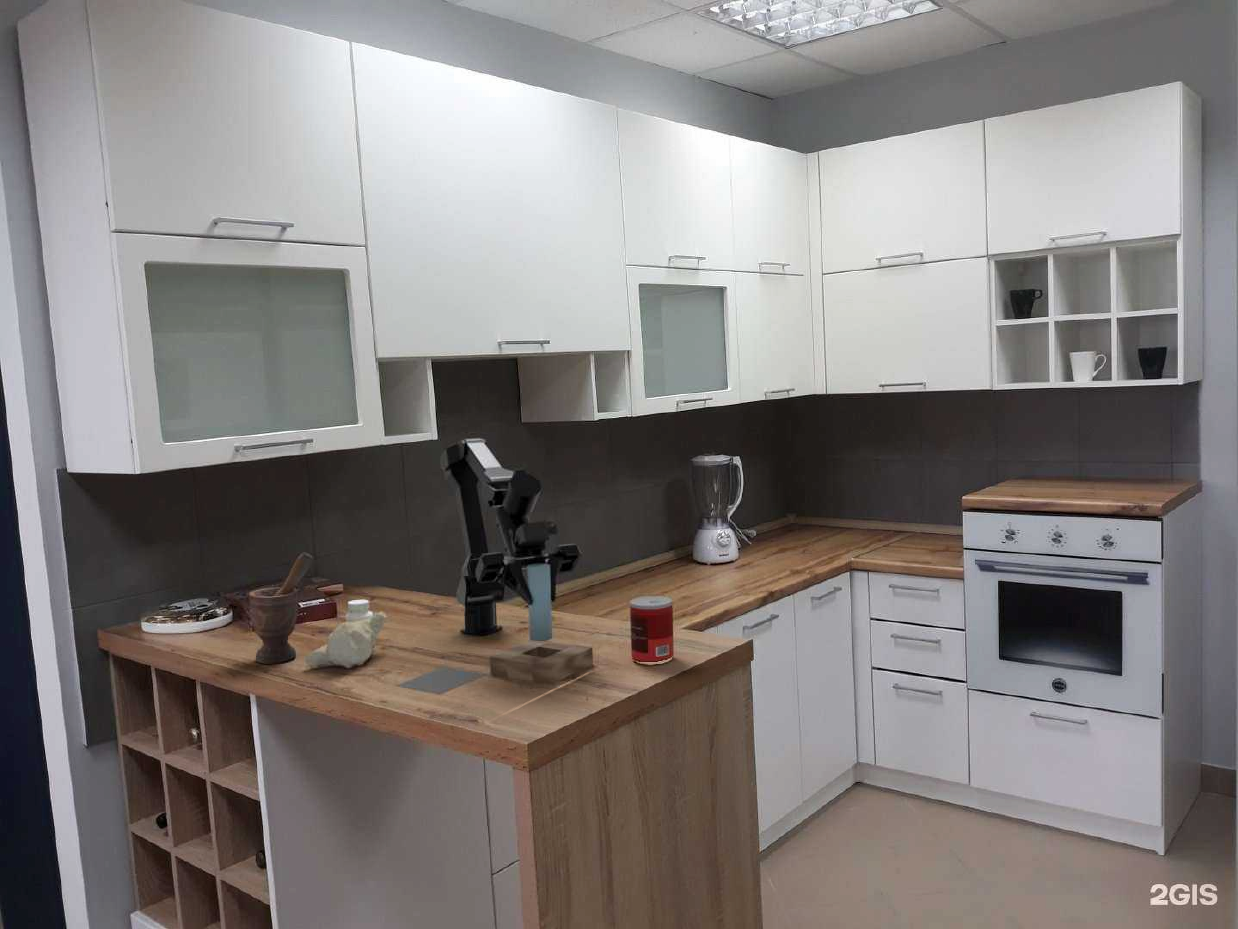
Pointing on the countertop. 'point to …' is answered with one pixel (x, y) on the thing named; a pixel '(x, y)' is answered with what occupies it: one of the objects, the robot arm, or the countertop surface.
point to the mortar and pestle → (277, 615)
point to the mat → (441, 680)
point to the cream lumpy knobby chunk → (348, 643)
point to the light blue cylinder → (540, 602)
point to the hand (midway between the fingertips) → (542, 602)
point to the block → (541, 661)
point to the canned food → (651, 628)
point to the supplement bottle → (358, 611)
